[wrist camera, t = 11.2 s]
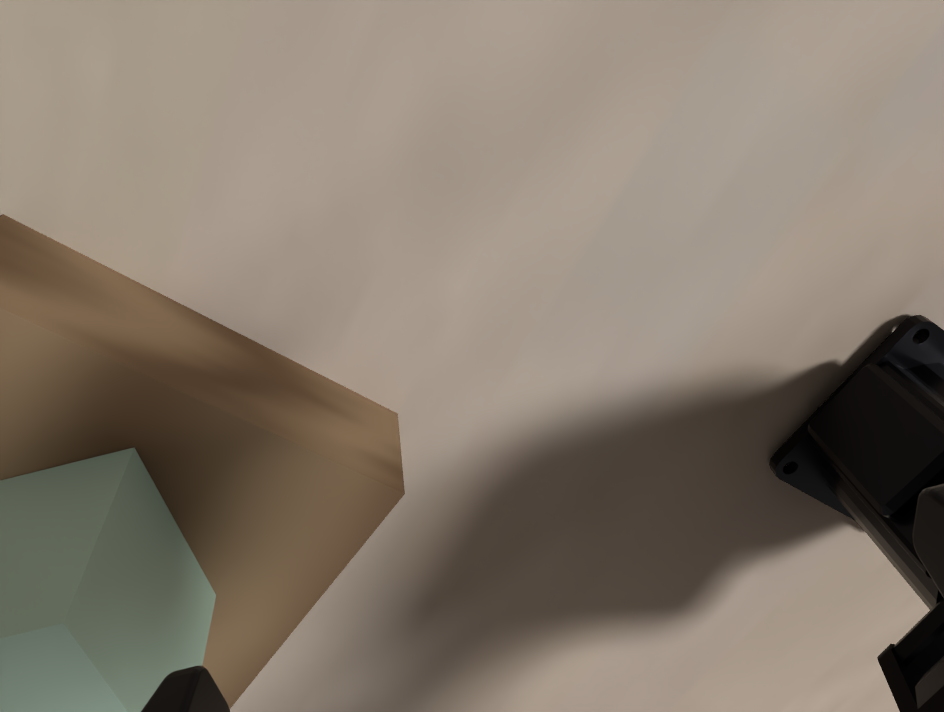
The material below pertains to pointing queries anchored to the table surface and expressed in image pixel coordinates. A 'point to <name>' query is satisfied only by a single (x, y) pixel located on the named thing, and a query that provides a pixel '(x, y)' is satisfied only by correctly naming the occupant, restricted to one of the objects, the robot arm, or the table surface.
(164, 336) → the walnut block
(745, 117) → the table surface
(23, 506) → the sage block
